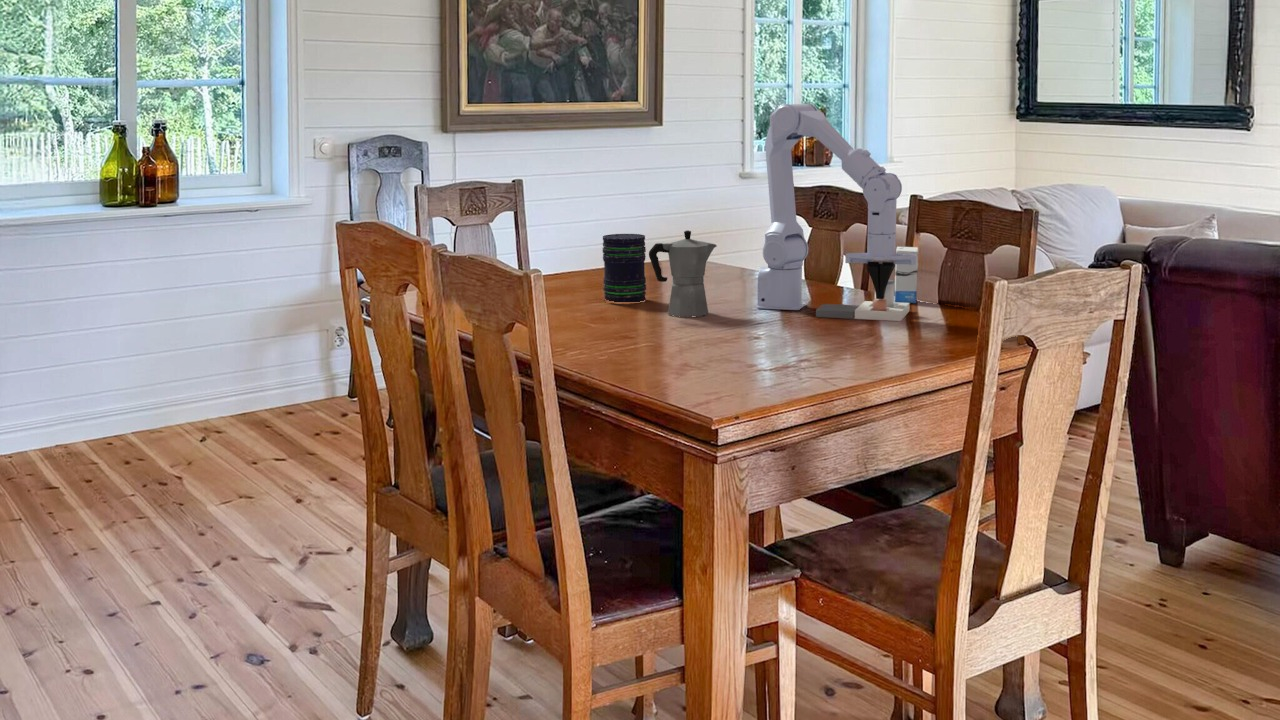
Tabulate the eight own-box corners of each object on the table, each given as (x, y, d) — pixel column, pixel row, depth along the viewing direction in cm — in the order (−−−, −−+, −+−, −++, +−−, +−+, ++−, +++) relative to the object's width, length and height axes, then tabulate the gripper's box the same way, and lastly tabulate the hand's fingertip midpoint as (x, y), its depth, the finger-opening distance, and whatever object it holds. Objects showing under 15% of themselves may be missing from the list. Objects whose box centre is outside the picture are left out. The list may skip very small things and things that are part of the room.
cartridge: (872, 314, 270) (873, 282, 269) (876, 311, 274) (876, 279, 273) (891, 315, 269) (892, 282, 268) (894, 312, 273) (895, 279, 271)
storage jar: (654, 301, 291) (654, 236, 288) (618, 306, 285) (617, 239, 282) (630, 296, 299) (629, 232, 296) (595, 300, 294) (593, 235, 290)
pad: (815, 316, 269) (815, 309, 268) (823, 310, 276) (823, 303, 276) (853, 318, 266) (853, 311, 266) (860, 312, 273) (860, 305, 273)
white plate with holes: (854, 318, 266) (854, 310, 266) (864, 309, 277) (864, 301, 277) (900, 320, 263) (901, 312, 262) (909, 311, 274) (909, 302, 273)
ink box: (917, 303, 283) (918, 250, 280) (894, 303, 284) (895, 250, 281) (916, 297, 291) (918, 246, 289) (894, 297, 292) (895, 245, 290)
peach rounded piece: (871, 314, 266) (872, 300, 265) (874, 312, 268) (874, 298, 267) (885, 315, 265) (885, 301, 264) (887, 313, 267) (887, 299, 267)
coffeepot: (707, 308, 281) (707, 226, 277) (725, 315, 273) (725, 231, 269) (642, 313, 276) (641, 230, 272) (657, 320, 267) (656, 235, 264)
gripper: (843, 234, 262) (842, 299, 264) (914, 236, 257) (912, 302, 259) (849, 230, 268) (848, 294, 271) (919, 232, 263) (917, 297, 266)
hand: (880, 298), depth 266 cm, fingers closed
